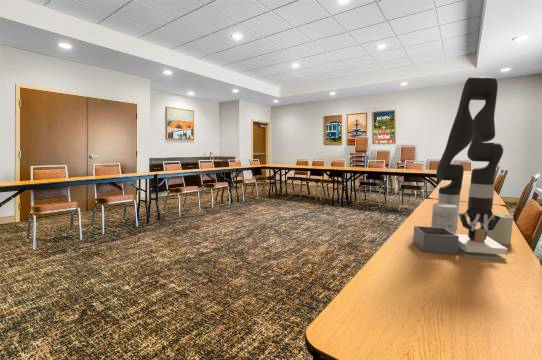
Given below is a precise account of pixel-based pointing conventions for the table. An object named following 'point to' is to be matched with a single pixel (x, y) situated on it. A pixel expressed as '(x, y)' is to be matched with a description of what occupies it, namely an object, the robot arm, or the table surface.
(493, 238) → the can
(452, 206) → the supplement tub
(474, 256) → the mat
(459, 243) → the lid
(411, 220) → the table surface
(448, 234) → the box
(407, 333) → the table surface
